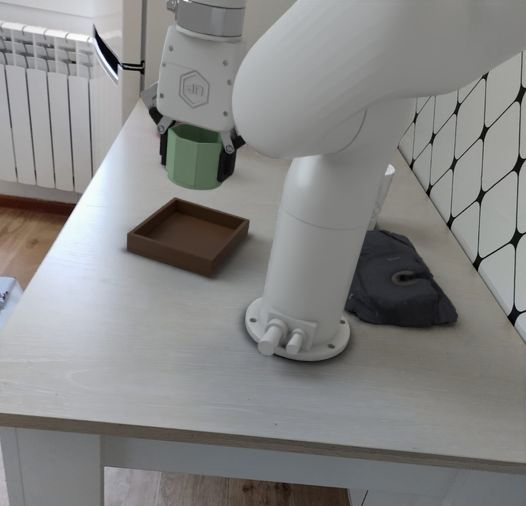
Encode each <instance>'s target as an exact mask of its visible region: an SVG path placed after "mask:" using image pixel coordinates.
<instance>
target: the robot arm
mask: <svg viewBox="0 0 526 506" xmlns="http://www.w3.org/2000/svg"><path fill="white" fill-rule="evenodd" d="M246 6H247V0H166V10H167V11H170V12H172V13H173V14H174V21H175V23H174V24H173V23H172V24H169V25H168V28H167V32H166V34H165V39H164V43H163V49H162V52H161V59H160V64H159V65H160V66H159V72H158V80H157V81H156V82H154V83H153V84H151V85H149V86H148V87H146V88H145V89H143V90H142V91H140V93H139V96H140V99H141V101H142V102H143V104H144V107H145V108H146V109H147V111H148V115H149V117H150V118H151V119H152V121H153V123H154V125H156V131H157V132H158V133H159V134H160V135H159V151H158V152H159V156H161V157H160V164H161V165H162V166H164V167H166V159H167V143H168V129H169V128H171V127H172V126H174V125H176V123H177V122H178V121H180V122H183V123H186V124H190V125H193V126H197V127H200V128H204V129H207V130H211V131H215V132H219V134H220V137H221V139H222V142H223V145H224V150H223V151H222V152H221V153H220V156H219V165H218V173H217V181H218V182H220V183H222V184H223V183H224V182H225V181H227V179H229V178H230V177H232V176H233V174H234V172H235V167H236V161H237V152H238V149H239V148H242V147H243V146H244V145H248V146H249V147H250V148H251V149H252V150H253V151H255V152H257V154H259V155H262V156H263V157H267V158H270V159H276V160H292V161H291V163H290V165H289V168H288V170H287V172H286V175H285V179H284V182H283V187H282V190H281V195H280V199H279V204H278V205H279V206H278V212H277V216H276V221H275V227H274V232H273V237H272V243H271V249H270V253H269V258H268V265H267V270H266V275H265V281H264V287H263V291H262V296H260V297H258V298H256V299H254V300H253V301H251V302H250V304H249V305H248V307H247V309H246V312H245V316H244V317H245V319H244V325H245V328H246V330H247V333H248V334H249V336H250V337H251V338H252V340H253V341H254V342H255V343H257V349H258V352H259V353H260V354H261V355H263V356H265V357H269V356H272V355H274V354H275V355H278V356H279V357H284V358H285V359H290V360H295V361H303V362H315V361H323V360H327V359H331V358H333V357H335V356H338V355H339V354H340V353H342V352H343V351H344V350H345V349H346V347H347V345H348V343H349V340H350V337H351V336H350V334H351V329H350V325H349V322H348V321H347V319H346V318H345V315H343V313H344V311H345V308H344V307H345V303H346V300H347V296H348V293H349V290H350V286H351V283H352V279H353V276H354V272H355V269H356V266H357V262H358V259H359V255H360V252H361V248H362V245H363V242H364V238H365V235H366V231H367V228H368V224H369V221H370V219H371V216H372V212H373V209H374V205H375V202H376V199H377V196H378V192H379V189H380V187H381V184H382V181H383V178H384V176H385V173H386V171H387V168H388V166H389V164H390V163H391V161H392V159H393V157H394V156H395V153H396V151H397V149H398V147H399V145H400V143H401V142H402V139H403V137H404V135H405V134H406V133H405V132H406V131H407V128H408V125H409V124H410V121H411V117H412V115H413V112H414V111H413V110H414V107H415V102H416V99H417V98H429V97H436V96H443V95H447V94H451V93H454V92H456V91H458V90H460V89H463V88H465V87H466V86H469V85H470V84H472V83H474V82H475V81H476V80H478V79H480V78H482V77H483V76H485V75H486V74H487V73H489V72H490V71H492V70H494V69H495V68H497V67H499V66H501V65H502V64H503V63H505V62H508V61H509V60H511V59H512V58H514V57H516V56H517V55H520V54H521V53H522V52H524V51H526V0H296V1H295V2H294V3H293V4H292V5H291V6H290V7H289V8H288V9H287V10H286V11H285V12H284V13H283V14H282V15H281V16H280V17H279V18H278V19H277V20H276V21H275V22H274V23H273V24H272V25H271V26H270V27H269V28H268V29H267V30H265V31H266V32H264V33H263V34H262V35H261V36H260V37H259V38H258V39H257V41H256V42H254V44H253V46H252V47H251V48H250V49H249V50H248V42H247V41H248V40H247V39H246V38H244V37H243V32H244V31H243V30H244V22H245V15H246V8H247V7H246ZM390 165H391V164H390Z"/></svg>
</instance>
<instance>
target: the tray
mask: <svg viewBox="0 0 526 506" xmlns="http://www.w3.org/2000/svg"><path fill="white" fill-rule="evenodd" d="M250 222H251V220H250V219H248V218H245V217H242V216H238V215H235V214H232V213H229V212H225V211H222V210H219V209H215V208H212V207H209V206H205V205H203V204H199V203H195V202H193V201H189V200H186V199H181V198H178V197H172V198H171V199H170V200H168V201H167V202H166V203H165V204H164V205H162V206H161V207H160V208H158V209H157V210H156V211H155V212H153V213H152V214H151V215H149V216H148V217H147V218H145V219H143V221H141V222H140V223H139V224H138V225H136V226H135V227H134V228H132V229H131V230H130V231H129V232H126V251H127V252H130V253H133V254H136V255H138V256H142V257H145V258H148V259H151V260H154V261H158V262H161V263H163V264H167V265H169V266H173V267H176V268H179V269H182V270H185V271H188V272H192V273H194V274H198V275H200V276H204V277H207V278H212V276H213V275H214V274H215V273H216V272H217V271H218V270H219V268H220V267H221V266H223V264H224V263H225V262H226V261H227V259H228V258H229V257H230V256H231V255H232V254H233V252H235V250H236V249H237V248H238V247H239V246H240V245H241V244H242V242H243V241H244V240H246V238H247V237H248V234H249V230H250V229H249V228H250V224H251V223H250Z"/></svg>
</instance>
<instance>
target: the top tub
mask: <svg viewBox="0 0 526 506" xmlns="http://www.w3.org/2000/svg"><path fill="white" fill-rule="evenodd" d="M223 150H224V145H223V142H222V139H221V137H220V134H219V132H215V131H211V130H207V129H204V128H200V127H197V126H193V125H190V124H186V123H178V124H176V125H174V126H172V127H171V128H169V129H168V143H167V159H166V166H165V171H166V173H167V179H168V180H169V181H170V182H171V183H172V184H174V185H176V186H179V187H181V188H184V189H187V190H192V191H193V190H194V191H211V190H215V189H218V188H220V187H221V185H222V184H223V183H220V182H218V181H217V173H218V165H219V156H220V153H221V152H222V151H223Z"/></svg>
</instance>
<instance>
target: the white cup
mask: <svg viewBox="0 0 526 506" xmlns="http://www.w3.org/2000/svg"><path fill="white" fill-rule="evenodd" d="M395 172H396V169H395V167H394V166H393V165H392V164H389V166H388V168H387V171H386V173H385V176H384V178H383V181H382V184H381V187H380V189H379V192H378V196H377V199H376V202H375V205H374V209H373V212H372V216H371V219H370V221H369V224H368V228H367V231H370V230H375V227H376V224H377V221H378V218H379V215H380V214H381V212H382V209H383V206H384V203H385V200H386V198H387V196H388V192H389V189H390V188H391V184H392V181H393V178H394V175H395Z"/></svg>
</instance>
